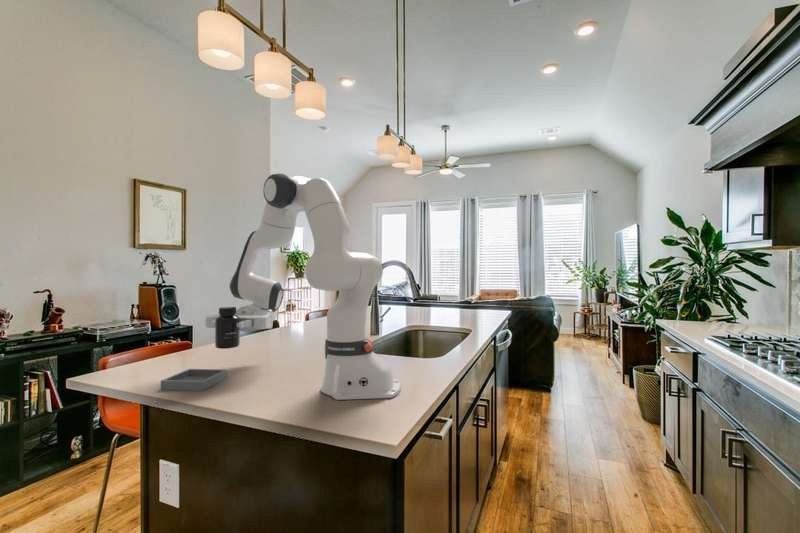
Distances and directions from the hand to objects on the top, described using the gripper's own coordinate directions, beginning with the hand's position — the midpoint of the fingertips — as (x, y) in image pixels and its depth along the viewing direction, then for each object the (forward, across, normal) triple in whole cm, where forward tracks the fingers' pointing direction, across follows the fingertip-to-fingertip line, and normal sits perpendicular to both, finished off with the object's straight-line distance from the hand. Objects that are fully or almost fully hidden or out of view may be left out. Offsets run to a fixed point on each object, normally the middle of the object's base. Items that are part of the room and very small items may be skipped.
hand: (225, 325), depth 115 cm
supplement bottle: (-1, 0, +7) cm, 7 cm away
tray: (+3, -8, +17) cm, 19 cm away
